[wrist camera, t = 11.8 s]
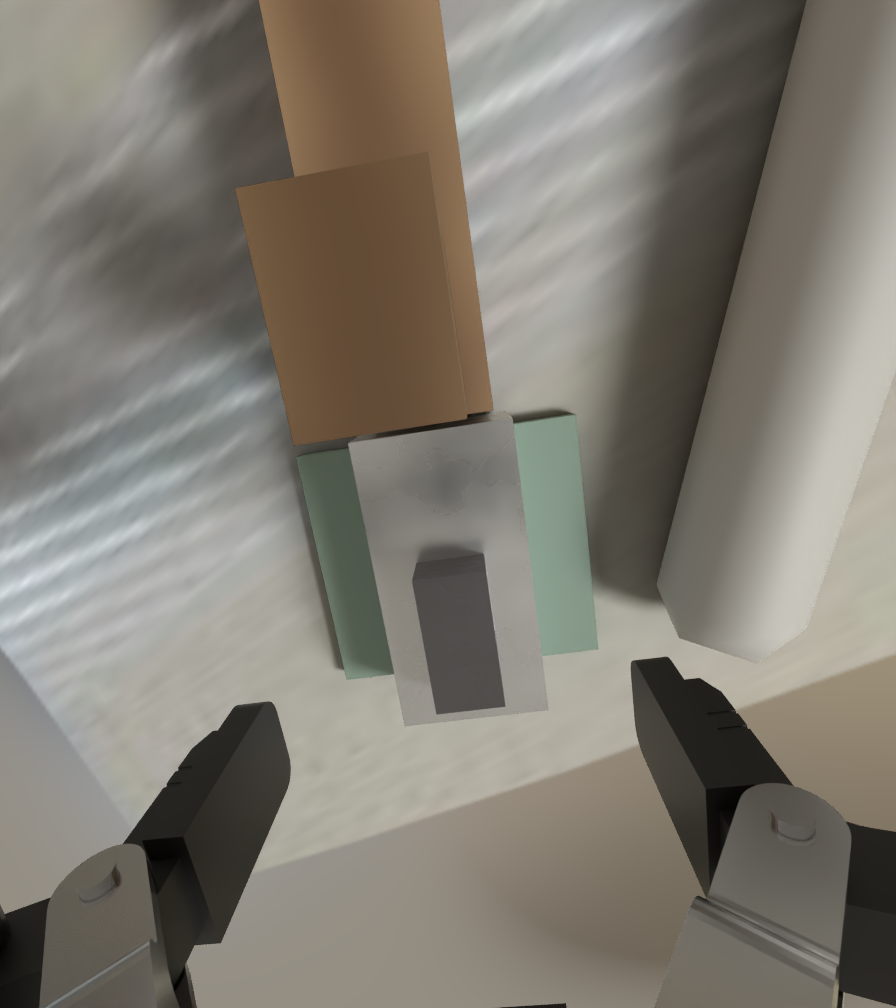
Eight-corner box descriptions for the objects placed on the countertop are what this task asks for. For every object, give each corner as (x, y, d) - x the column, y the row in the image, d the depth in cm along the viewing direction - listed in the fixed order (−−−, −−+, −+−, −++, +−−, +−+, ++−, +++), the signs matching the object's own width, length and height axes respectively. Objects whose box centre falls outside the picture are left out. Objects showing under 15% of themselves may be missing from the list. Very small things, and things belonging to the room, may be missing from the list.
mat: (572, 413, 20) (575, 414, 20) (594, 642, 23) (598, 649, 22) (300, 454, 21) (295, 457, 21) (349, 672, 24) (346, 679, 23)
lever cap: (505, 411, 20) (517, 423, 15) (537, 666, 23) (555, 739, 18) (364, 432, 20) (336, 450, 16) (412, 681, 23) (399, 755, 19)
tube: (718, 612, 24) (923, -81, 17) (830, 684, 19) (1178, -252, 12) (616, 614, 22) (800, -152, 15) (710, 693, 17) (1037, -380, 11)
